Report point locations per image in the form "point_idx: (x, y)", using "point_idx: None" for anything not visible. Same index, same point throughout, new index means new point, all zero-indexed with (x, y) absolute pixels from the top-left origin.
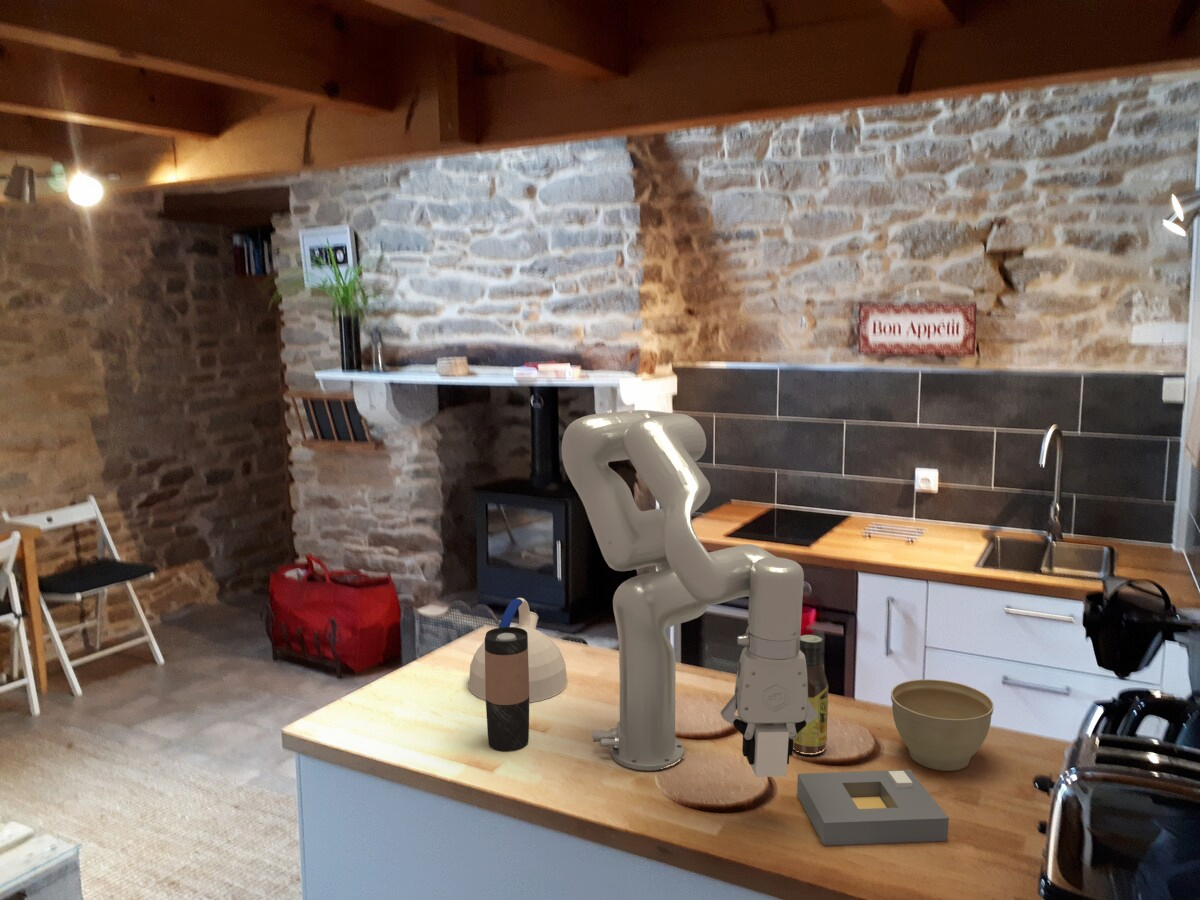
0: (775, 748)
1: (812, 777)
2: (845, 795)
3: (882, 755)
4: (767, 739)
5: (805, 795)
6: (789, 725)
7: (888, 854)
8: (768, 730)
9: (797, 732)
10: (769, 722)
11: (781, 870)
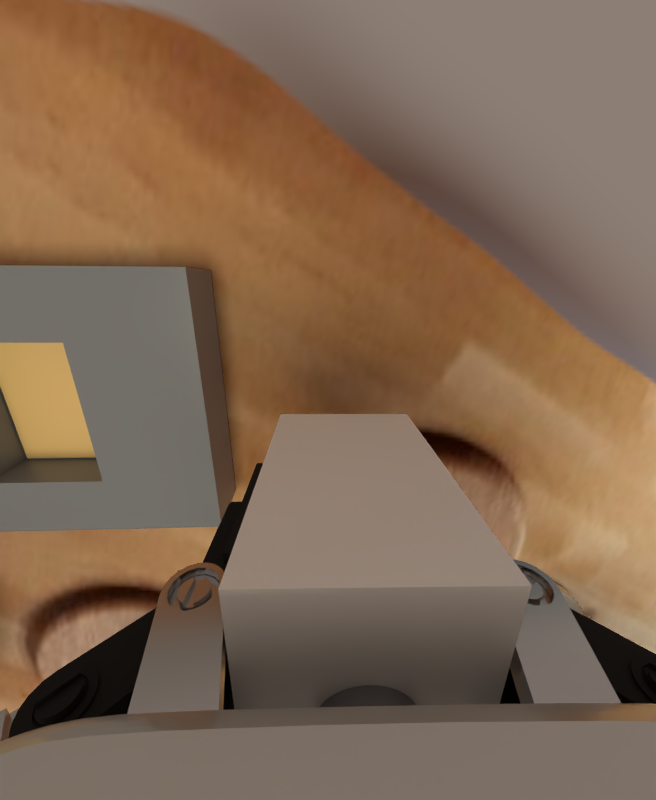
0: (338, 485)
1: (183, 509)
2: (98, 418)
3: (22, 616)
4: (411, 531)
5: (218, 449)
6: (192, 680)
7: (32, 211)
8: (415, 613)
9: (150, 615)
10: (470, 724)
11: (352, 154)
